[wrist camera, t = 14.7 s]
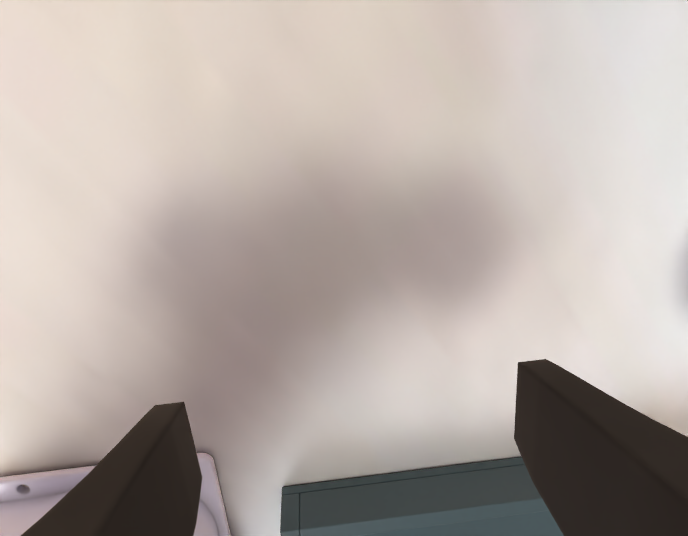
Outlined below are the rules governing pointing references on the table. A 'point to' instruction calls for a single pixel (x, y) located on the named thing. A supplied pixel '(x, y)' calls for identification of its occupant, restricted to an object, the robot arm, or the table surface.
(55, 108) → the table surface
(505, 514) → the dark teal tray
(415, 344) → the table surface
